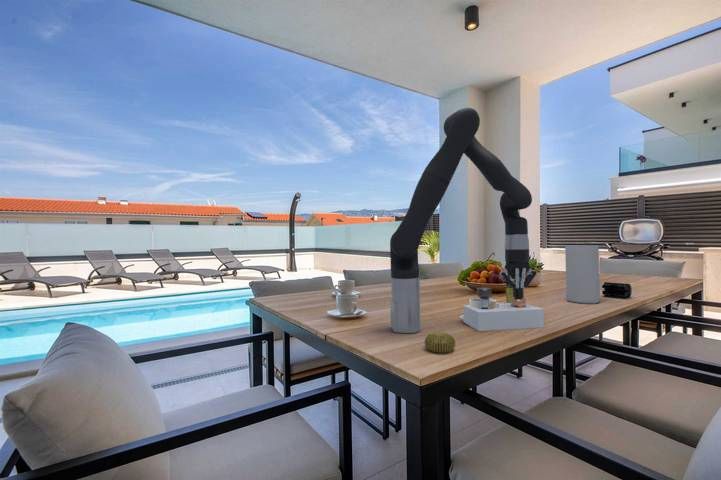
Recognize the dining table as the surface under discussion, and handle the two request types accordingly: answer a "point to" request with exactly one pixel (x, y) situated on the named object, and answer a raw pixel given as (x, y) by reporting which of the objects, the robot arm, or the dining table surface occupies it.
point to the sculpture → (440, 342)
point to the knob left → (484, 296)
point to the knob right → (518, 303)
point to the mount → (503, 317)
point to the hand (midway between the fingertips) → (518, 298)
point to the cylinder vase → (582, 274)
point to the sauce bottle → (510, 293)
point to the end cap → (616, 290)
